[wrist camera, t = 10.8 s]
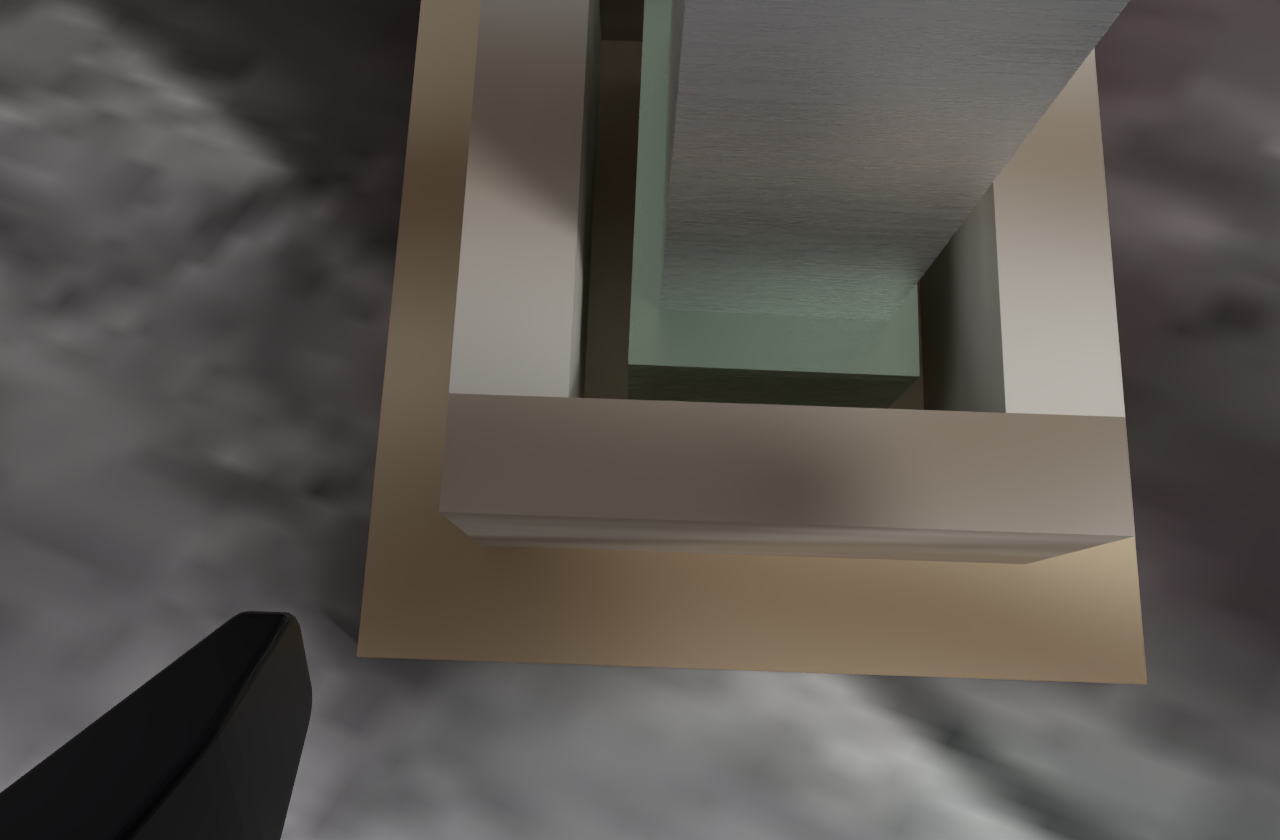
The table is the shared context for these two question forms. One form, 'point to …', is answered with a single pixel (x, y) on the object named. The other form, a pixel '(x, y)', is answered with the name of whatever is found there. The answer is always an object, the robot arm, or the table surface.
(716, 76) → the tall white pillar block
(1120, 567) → the block holder
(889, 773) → the table surface
